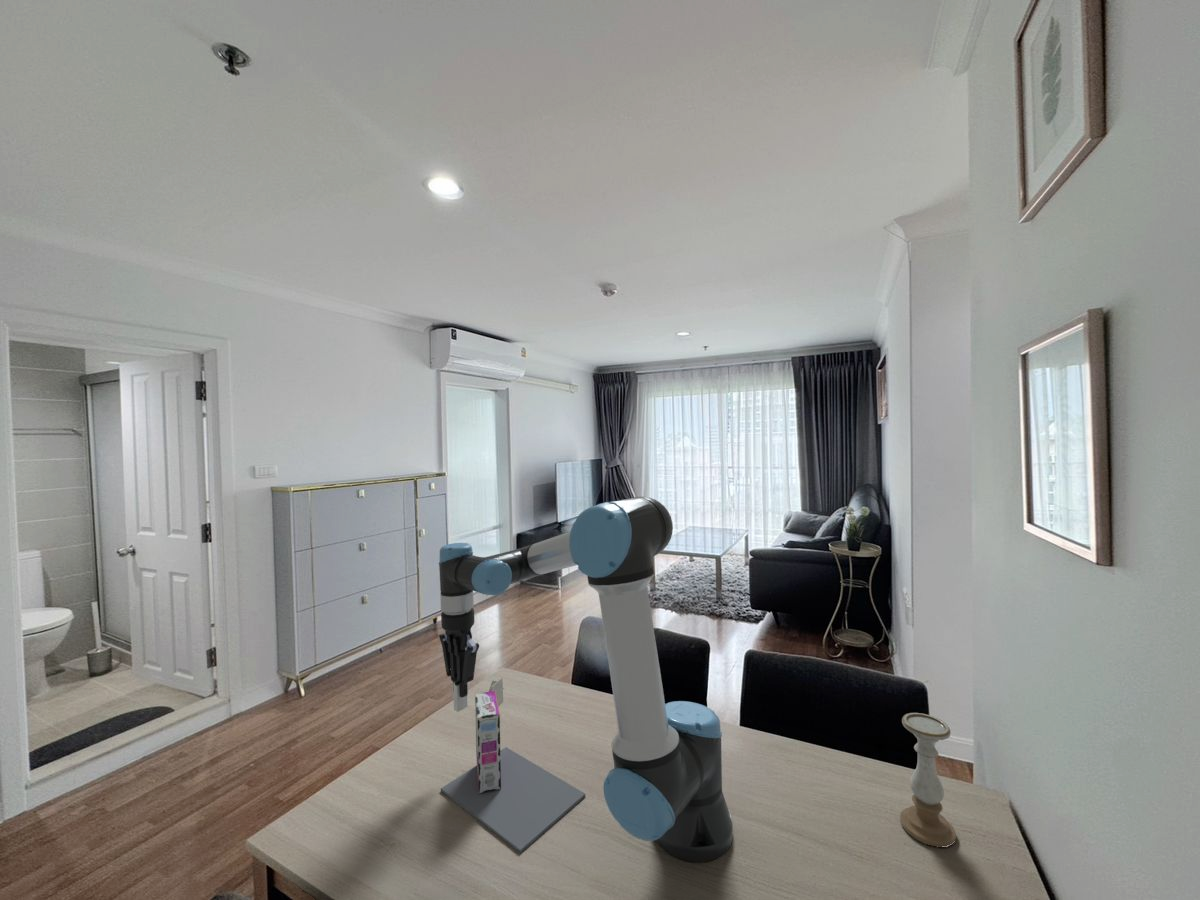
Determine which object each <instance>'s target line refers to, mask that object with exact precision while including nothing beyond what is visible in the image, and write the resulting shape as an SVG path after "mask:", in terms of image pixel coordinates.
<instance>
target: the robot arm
mask: <svg viewBox="0 0 1200 900" xmlns="http://www.w3.org/2000/svg"><path fill="white" fill-rule="evenodd" d="M673 526H674V525H673V519H672V515H671V514H670V512H669V511H668V509H667V508H666V506H665V505H664V504H662V503H661V502H660V501H659V500H657V499H655V498H652V497H648V496H634V497H631V498H626V499H625V498H624V499H619V500H614V501H604V502H601V503H598V504H596V505H593V506H590V507H588V508H585V509H584V510H582V512H580V513H579V514H578V516H577V517H576V519H575V520H574V522H573V524H572V526H571V529H570V531H568V532H565V533H563V534H562V533H561V534H559V535H555V536H553V537H550V538H548V539H544V540H542V541H538V542H536V543H533V544H529V545H527V546H523V547H521V548H519V547H518V548H516V549H513V550H509V551H505V552H501V553H498V554H492V555H489V556H477V555H473V554H474V552H473V547H472V545H471V544H470V543H468V542H453V543H448V544H445V545H443V546H441V547H440V549H439V562H438V567H439V586H440V587H439V588H440V589H439V590H440V611H441V614H440V617H441V618H440V619H441V621H440V622H441V624H440V625H441V628H442V629H443V630H444V631H445V632H444V633H441V634H439V636H438V638H439V640H440V644H441V647H442V655H443V661H444V667H445V673H446V674H445V675H446V676H447V677H450V681H451V682H452V693H453V710H454V711H456V712H457V713H459V712H461V711H462V710H464V709H466V708H468V691H469V690H468V683H469V682H472V681H474V676H475V670H476V669H475V668H476V664H477V663H476V662H477V661H476V660H477V654H478V650H479V648H480V644H479V642H476V643H474V640H473V634H472V631H471V629H472V628H473V626H474V624H475V608H473V607H474V605H475V604H474V602H475V601H474V599H475V598H474V592H476V593H479V594H482V595H486V596H499V595H502V594H504V593H505V591H506V590H507V589H509V587H510V585H512V584H516V583H518V582H522V581H526V580H528V579H532V578H535V577H539V576H542V575H545V574H549V573H552V572H555V571H560V570H564V569H568V568H571V567H575V566H578V567H577V569H578V570H579V571H580V573H582V574H583V575H585V576H586V577H587V582H588V586H590V588H592V589H593V590H595V591H596V592H597V593H598V597H599V599H598V600H599V605H600V613H601V620H602V627H603V634H604V639H605V640H604V641H605V646H606V654H607V661H608V668H609V675H610V682H611V688H612V689H611V690H612V695H613V696H612V697H613V703H614V708H615V717H616V725H617V732H616V734H615V735H614V736H613V738H612V740H611V752H612V758H613V765H614V766H613V769H610V770H609V771H608V774H607V775H606V777H605V779H604V782H603V787H602V788H603V796H604V800H605V802H606V805H607V808H608V810H609V812H610V814H611V815H612V817H613V818H614V820H615V821H616V822H618V825H620V827H621V828H622V829H623V830H625V832H627V833H628V834H629V835H631V836H632V837H635V838H636V839H638V840H642V841H645V842H652V841H653V842H654V841H657V843H658V845H659V846H660V847H661V848H662V849H663V850H664V851H666V852H667V853H668V854H670V855H672V856H673V857H675V858H678V859H681V860H683V861H687V862H690V863H691V862H693V863H706V862H711V861H714V860H715V859H719V858H720V857H722V856H723V855H724V854H726V853H727V851H728V850H729V849H730V847H731V845H732V842H733V838H734V836H733V834H734V833H733V820H732V816H731V813H730V811H729V807H728V805H727V801H726V798H725V796H724V792H723V772H722V771H723V770H722V769H723V768H722V767H723V766H722V761H723V760H722V736H723V734H722V730H721V722H720V718H719V716H718V715H717V714H716V713H715V711H714V710H712V708H709V707H707V706H706V705H704V704H700V703H697V702H693V701H686V700H678V701H677V700H676V701H675V700H674V701H669V702H667V703H665V702H666V701H665V694H664V688H663V682H662V681H663V680H662V674H661V667H660V663H659V662H660V661H659V655H658V649H657V648H658V647H657V642H656V635H655V628H654V622H653V615H652V608H651V603H650V596H649V591H648V590H649V589H648V586H649V583H650V582H651V580H652V579H653V578H654V577H655V572H654V566H653V565H654V564H653V557H655V556H658V555H659V554H660V553H661V552H663V551H664V550H665V549H666V548H667V546H668V544H669V543H670V542H671V539H672V536H673V531H674V530H673V529H674V527H673Z"/></svg>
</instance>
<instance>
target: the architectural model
mask: <svg viewBox="0 0 1200 900" xmlns="http://www.w3.org/2000/svg"><path fill="white" fill-rule="evenodd" d="M503 682H504V681H503V677H501V678H499V679H498V680H497V679H496V680H495V679H493V680H492V681H491V683H490V687H489V690H488V692H491V691H495V692H496V697H497V703H498V707H499V706H500V705H501V704H503V703H504V690H505V688H504V687H503V686H504V683H503Z"/></svg>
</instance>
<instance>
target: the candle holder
mask: <svg viewBox="0 0 1200 900" xmlns="http://www.w3.org/2000/svg"><path fill="white" fill-rule="evenodd" d="M901 723H902V726H903V727H904V729H906V730H907V731H909V732H910V733H911V734H913V735H914V737H915V738H916V739H917V742H916V743H915V744H914V746H913V749H914V751H915V752H916V753H917V763H916V768H915V769H914V771H913V772H912V775H911V776H910V778H909V787H910V790H911V791H912V792H911V793H913V795H912V796H911V801H912V802H913V804H914V805H911V806H908V807H906V808H904V809H902V810H901V812H900V814H899V821H900V824H901V827H902V828H903V829H904V830H905V832H906V833H907V834H908V835H910V836H911V838H913V839H915V840H916V841H918V842H921V843H922V844H924V845H927V844H928V845H927V846H929V845H932V846H931V847H933V846H938V847H942V846H947V845H950V844H952V843H953V842H954V841H955V839H956V840H957V833H956V829H955V828H954V826H953V825H952V824H951V823H950V822H949V821H948V820H947V819H946V818H945V817H944V815H942V814H941V812H942V811H943V804H942V803H941V802H942V801H943V799H944V797H945V789H944V787H943V783H942V781H941V780H940V778H939V776H938V772H937V768H936V758H938V757H939V754H940V753H939V751H938V750H937V748H936V746H935V745H936V743H938V742H939V741H944V740H947V739H949V738H950V737H951V729H950V727H949V726H948V724H947V723H946V722H944V721H943V720H941V719H939V718H938V717H935V716H934V715H933V716H932V715H930V714H925V713H922V712H921V713H919V712H909V713H905V714H904V715H903V716H902V718H901ZM955 842H956V841H955ZM938 847H937V848H938Z"/></svg>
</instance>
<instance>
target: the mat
mask: <svg viewBox="0 0 1200 900" xmlns="http://www.w3.org/2000/svg"><path fill="white" fill-rule="evenodd" d="M500 757H501V789H499V790H496V791H490V792H486V793H481V794H479V786H478V774H477V765H475V766H473V767H472V768H470V769H469V770H467V771H466V772H464V773H463V774H461V775H459V776H457V777H456V778H455V779H453V780H452V781H450V782H449V783H447V784H445V785H443V786H442V787H441V788H440V792H441V793H443V794H444V795H445V796H446V797H448V798H449V799H450V800H451V801H453V803H455V804H456V805H458V806H459V807H461V808H462V809H463V810H464V811H466V812H467V813H468V814H469V815H471V816H472V817H474V818H475V820H478V822H479V823H481V824H482V825H484V826H485V827H486V828H487V829H488V830H490V831H491V832H493V833H494V834H495V835H496V836H498V837H499V838H501V839H502V840H503V841H504V842H505V843H507V845H509V846H510V847H512V848H513V849H514V850H516V851H517V852H518V853H520V854H522V853H523V851H525V850H526V849H527V848H528V847H529V846H531V845H532V843H534V842H535V841H536V840H537V839H538V838H539V837H541V836H542V835H543V834H544V833H545V832H547V831H548V830H549V829H550V828H551V827H553V825H554V824H556V823H557V822H559V820H561V819H562V817H564V816H565V815H566V814H567V813H568V812H569V811H571V810H572V809H573V808H574V807H575V806H576V805H577V804H579V802H581V801H582V800H583V799H584V798H585V797H586V793H585V792H584V791H581V790H580V789H578V788H576V787H575V786H573V785H571V783H568V782H566V781H565V780H563V779H561V778H559V777H557V776H556V775H554V774H553V773H551V772H550V771H548V770H546V769H544V768H543V767H541V766H539V765H537V764H536V763H534V762H533V761H530V760H529V759H527V758H525V756H522V755H520V754H518V753H517V752H516V751H514V750H512V749H510V748H508V747H507V746H505V747H503V748H502V749H500Z"/></svg>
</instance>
